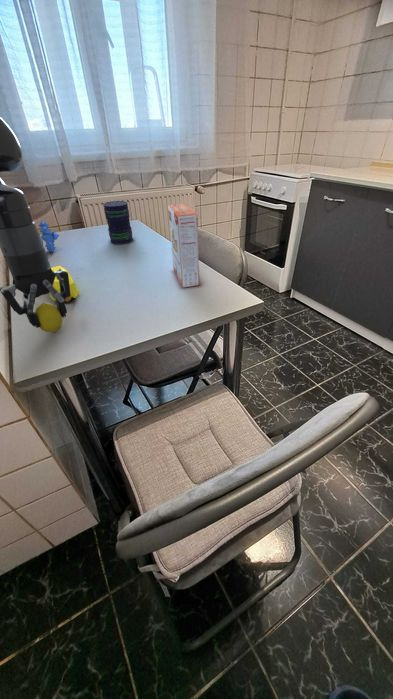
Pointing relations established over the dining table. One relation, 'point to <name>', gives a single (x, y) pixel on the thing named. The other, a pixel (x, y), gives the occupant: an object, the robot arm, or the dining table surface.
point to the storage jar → (118, 222)
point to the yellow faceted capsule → (73, 288)
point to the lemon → (48, 317)
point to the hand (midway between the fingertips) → (50, 320)
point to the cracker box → (184, 244)
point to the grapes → (48, 236)
